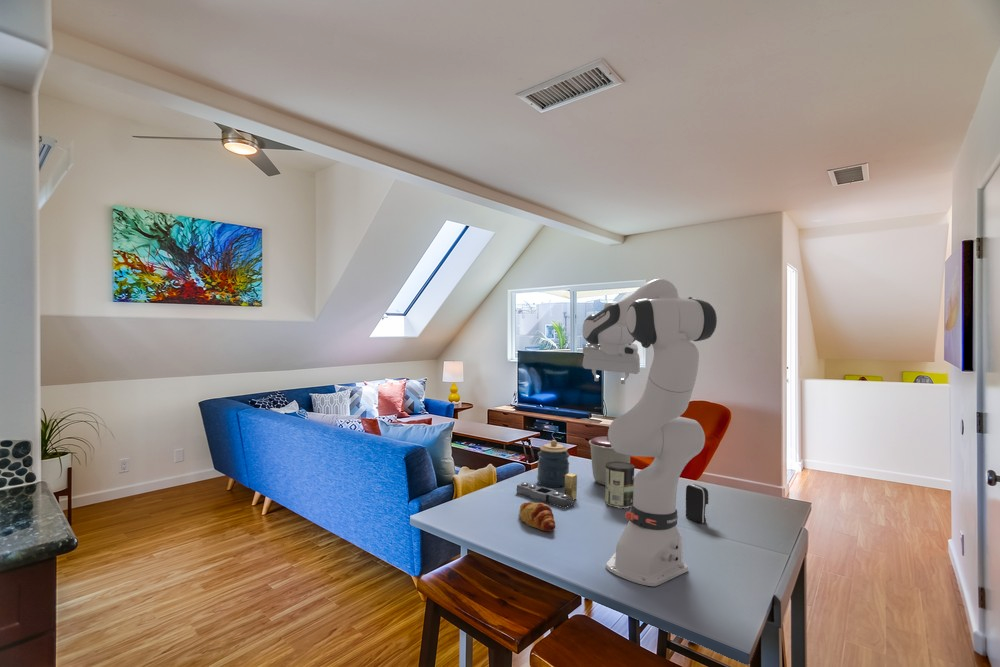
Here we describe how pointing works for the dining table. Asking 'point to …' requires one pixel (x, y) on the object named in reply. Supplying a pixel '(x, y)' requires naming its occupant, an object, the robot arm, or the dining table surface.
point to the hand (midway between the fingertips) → (609, 382)
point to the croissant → (537, 516)
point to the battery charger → (696, 502)
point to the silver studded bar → (544, 494)
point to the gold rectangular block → (571, 485)
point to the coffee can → (619, 484)
